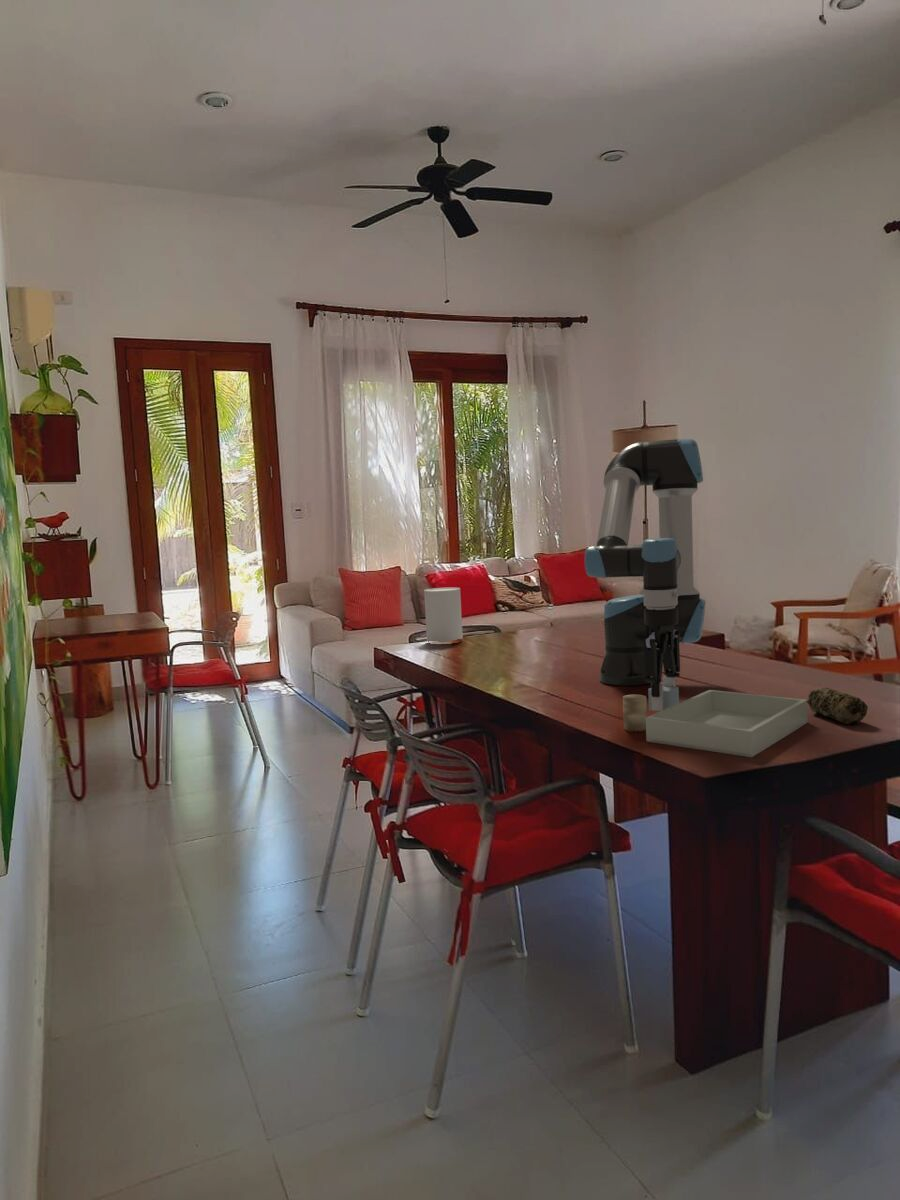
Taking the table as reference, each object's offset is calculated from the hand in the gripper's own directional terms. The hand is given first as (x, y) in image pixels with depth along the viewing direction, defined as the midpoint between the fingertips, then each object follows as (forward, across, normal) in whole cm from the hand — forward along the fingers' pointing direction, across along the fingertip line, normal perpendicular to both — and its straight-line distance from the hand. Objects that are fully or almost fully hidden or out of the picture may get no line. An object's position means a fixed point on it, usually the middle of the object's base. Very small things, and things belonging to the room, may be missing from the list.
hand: (663, 707), depth 198 cm
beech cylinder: (+2, -14, 0) cm, 14 cm away
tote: (+1, -7, -18) cm, 20 cm away
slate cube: (0, 0, 0) cm, 0 cm away
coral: (+2, +15, -33) cm, 36 cm away
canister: (+5, +62, +123) cm, 138 cm away
